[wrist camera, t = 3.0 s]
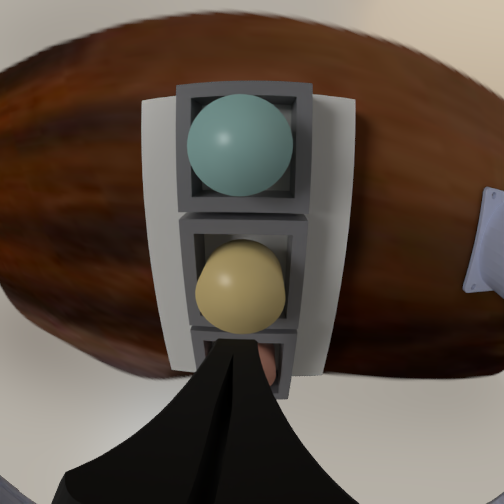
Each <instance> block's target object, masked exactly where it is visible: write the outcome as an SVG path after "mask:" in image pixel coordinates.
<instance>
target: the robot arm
mask: <svg viewBox="0 0 504 504" xmlns="http://www.w3.org/2000/svg"><path fill="white" fill-rule="evenodd" d="M492 193H493V195H492ZM463 290H464V291H465V292H466V293H471V292H481V291H491V290H494V291H495V292H496V293H498V294H499V295H500V296H501V297H502V298H503V299H504V191H501V190H498V189H494V188H491V187H486V188H485V189H484V191H483V197H482V205H481V211H480V217H479V223H478V228H477V233H476V238H475V243H474V247H473V251H472V255H471V259H470V263H469V267H468V270H467V274H466V277H465V281H464V284H463ZM0 504H36V503H35V502H33V501H31V500H30V499H29V498H27V497H26V496H25V495H23V494H22V493H20V492H19V490H18V489H17V488H15V487H14V486H13V485H12V484H10V483H9V482H8V481H7V480H5V479H4V478H3V477H2V476H0ZM52 504H359V503H358V502H357V501H356V500H354V499H353V498H352V497H351V496H350V495H348V494H347V493H346V492H345V491H344V490H343V489H342V488H341V487H340V486H339V485H338V484H337V483H336V482H335V481H334V480H333V479H332V478H331V477H330V476H329V475H328V474H327V473H326V472H325V471H324V470H323V469H322V467H321V466H320V465H319V464H318V463H317V461H316V460H315V459H314V458H313V457H312V455H311V454H310V453H309V451H308V450H307V449H306V448H305V446H304V445H303V444H302V442H301V441H300V439H299V438H298V436H297V435H296V434H295V432H294V431H293V429H292V427H291V426H290V424H289V423H288V421H287V419H286V417H285V416H284V414H283V412H282V410H281V408H280V407H279V405H278V403H277V401H276V399H275V397H274V394H273V392H272V390H271V388H270V385H269V383H268V380H267V378H266V375H265V372H264V370H263V366H262V363H261V360H260V356H259V350H258V342H257V341H256V340H255V339H223V338H219V339H217V340H216V341H215V343H214V345H213V346H212V348H211V350H210V351H209V353H208V355H207V356H206V358H205V359H204V361H203V362H202V363H201V365H200V366H199V368H198V369H197V370H196V372H195V373H194V374H193V376H192V377H191V378H190V380H189V381H188V382H187V383H186V385H185V386H184V387H183V388H182V389H181V390H180V392H179V393H178V394H177V395H176V396H175V397H174V398H173V400H172V401H171V402H170V403H169V404H168V405H167V406H166V407H165V408H164V409H163V410H162V411H161V412H160V413H159V414H158V415H156V416H155V417H154V418H153V419H152V420H151V421H150V422H149V423H147V424H146V425H145V426H144V427H143V428H141V429H140V430H139V431H138V432H136V433H135V434H134V435H132V436H131V437H130V438H128V439H127V440H125V441H124V442H122V443H121V444H119V445H118V446H116V447H114V448H113V449H111V450H110V451H108V452H106V453H105V454H103V455H102V456H99V457H98V458H96V459H94V460H92V461H90V462H87V463H85V464H83V465H81V466H79V467H76V468H74V469H72V470H69V471H67V472H65V474H64V476H63V478H62V479H61V481H60V483H59V486H58V489H57V491H56V493H55V496H54V499H53V501H52ZM487 504H504V492H503V493H502V494H500V495H499V496H498V497H497V498H495V499H494V500H492V501H491V502H489V503H487Z"/></svg>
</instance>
